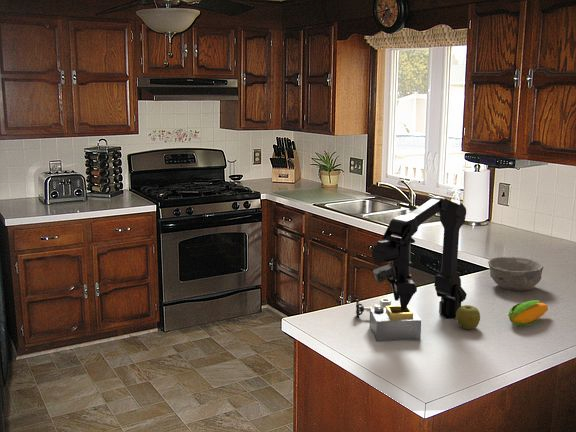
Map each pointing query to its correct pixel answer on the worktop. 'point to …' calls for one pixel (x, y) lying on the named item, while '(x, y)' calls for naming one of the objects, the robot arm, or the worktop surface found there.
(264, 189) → the worktop surface
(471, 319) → the apple
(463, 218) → the robot arm
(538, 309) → the corn
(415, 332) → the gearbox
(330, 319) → the worktop surface
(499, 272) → the bowl
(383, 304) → the valve
